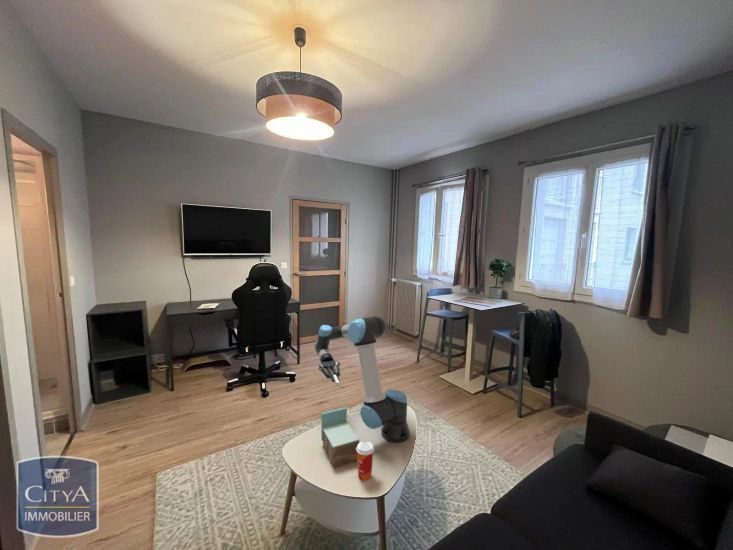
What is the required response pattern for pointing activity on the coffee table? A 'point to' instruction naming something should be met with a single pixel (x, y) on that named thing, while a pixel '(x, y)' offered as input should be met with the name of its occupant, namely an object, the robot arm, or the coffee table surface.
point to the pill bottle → (364, 460)
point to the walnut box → (340, 453)
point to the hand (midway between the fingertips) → (337, 384)
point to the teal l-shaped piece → (337, 428)
